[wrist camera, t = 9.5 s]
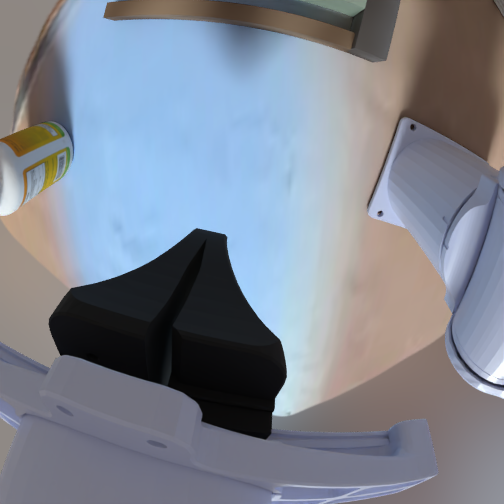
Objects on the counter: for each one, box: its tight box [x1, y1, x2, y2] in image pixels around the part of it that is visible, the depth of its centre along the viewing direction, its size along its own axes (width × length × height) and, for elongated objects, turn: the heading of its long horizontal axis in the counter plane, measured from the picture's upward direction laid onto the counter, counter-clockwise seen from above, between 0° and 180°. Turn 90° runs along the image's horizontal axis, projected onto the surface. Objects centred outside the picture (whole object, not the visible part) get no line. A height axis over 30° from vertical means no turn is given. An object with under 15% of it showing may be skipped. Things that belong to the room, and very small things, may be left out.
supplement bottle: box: [0, 121, 73, 216], centre depth 15 cm, size 5×5×10 cm
